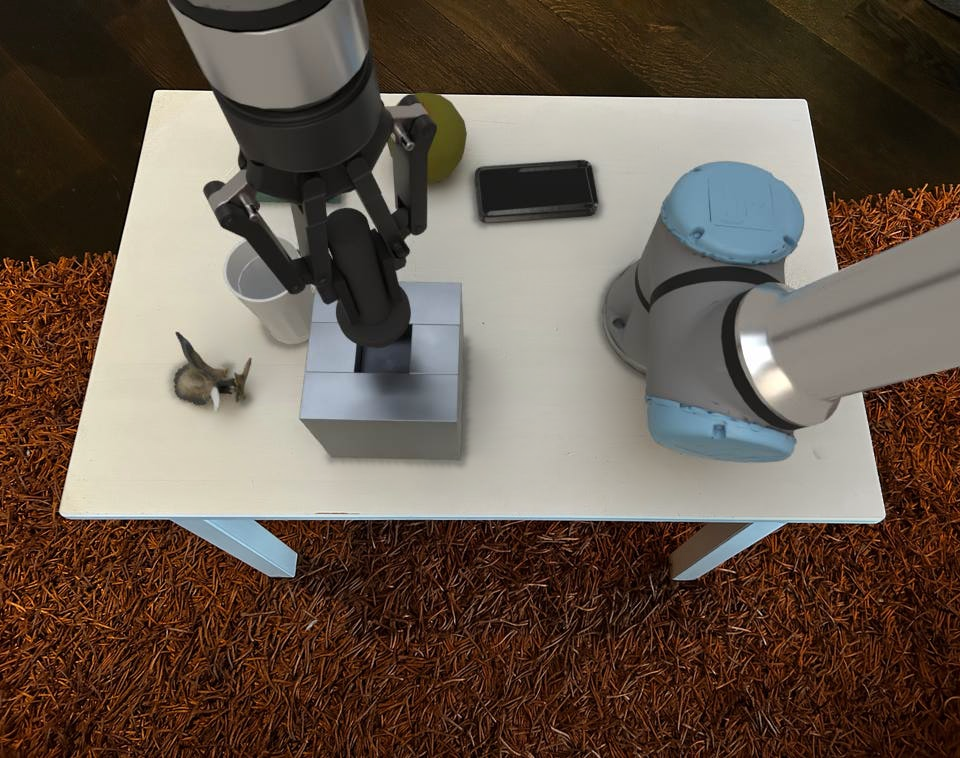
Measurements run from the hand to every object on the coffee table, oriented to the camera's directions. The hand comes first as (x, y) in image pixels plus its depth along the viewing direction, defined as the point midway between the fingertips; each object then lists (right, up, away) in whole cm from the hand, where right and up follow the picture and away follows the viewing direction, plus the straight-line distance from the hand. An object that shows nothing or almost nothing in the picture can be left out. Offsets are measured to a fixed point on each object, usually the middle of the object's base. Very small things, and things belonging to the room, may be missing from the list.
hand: (369, 299), depth 51 cm
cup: (-13, +1, +26) cm, 29 cm away
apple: (+2, +21, +34) cm, 40 cm away
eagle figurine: (-21, -7, +23) cm, 32 cm away
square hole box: (0, -8, +22) cm, 23 cm away
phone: (+16, +17, +32) cm, 40 cm away
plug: (0, -2, +5) cm, 5 cm away
